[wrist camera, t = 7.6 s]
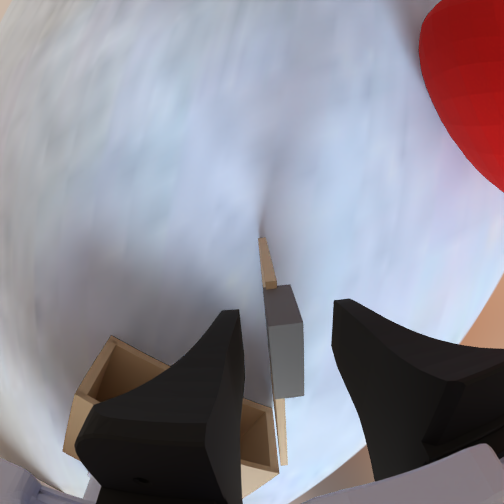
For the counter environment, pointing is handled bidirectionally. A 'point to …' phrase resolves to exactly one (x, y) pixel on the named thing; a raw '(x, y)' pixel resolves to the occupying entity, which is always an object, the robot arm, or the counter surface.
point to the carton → (145, 369)
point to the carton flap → (282, 343)
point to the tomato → (468, 78)
